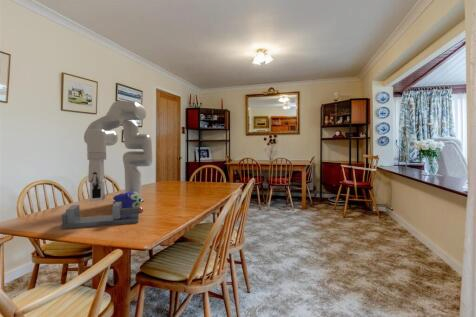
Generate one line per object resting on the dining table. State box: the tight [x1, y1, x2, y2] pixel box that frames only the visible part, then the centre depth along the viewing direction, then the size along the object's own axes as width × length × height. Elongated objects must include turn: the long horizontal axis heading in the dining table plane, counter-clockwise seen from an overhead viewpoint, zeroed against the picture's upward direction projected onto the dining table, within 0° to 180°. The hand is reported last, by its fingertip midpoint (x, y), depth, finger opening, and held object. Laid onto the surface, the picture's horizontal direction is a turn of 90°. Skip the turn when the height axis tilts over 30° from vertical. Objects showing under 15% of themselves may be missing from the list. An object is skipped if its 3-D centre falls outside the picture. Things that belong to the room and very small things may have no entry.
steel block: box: [89, 180, 106, 202], centre depth 120 cm, size 5×5×8 cm
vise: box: [61, 204, 140, 230], centre depth 121 cm, size 10×30×8 cm, turn 108°
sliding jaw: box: [112, 202, 144, 219], centre depth 125 cm, size 9×13×6 cm
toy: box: [112, 192, 142, 209], centre depth 146 cm, size 10×17×15 cm
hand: (97, 196), depth 120 cm, fingers closed on steel block, 5 cm apart
